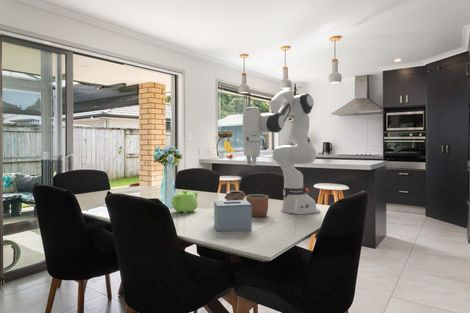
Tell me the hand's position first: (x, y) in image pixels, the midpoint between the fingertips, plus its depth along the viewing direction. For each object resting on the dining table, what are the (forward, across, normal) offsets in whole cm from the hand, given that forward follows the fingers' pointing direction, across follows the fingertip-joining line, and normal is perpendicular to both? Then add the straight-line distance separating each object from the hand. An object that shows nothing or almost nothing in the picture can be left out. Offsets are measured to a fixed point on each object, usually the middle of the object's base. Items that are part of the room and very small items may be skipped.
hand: (251, 165), depth 164 cm
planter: (+29, -11, +6) cm, 32 cm away
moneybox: (+29, +11, -12) cm, 33 cm away
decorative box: (+29, -39, -2) cm, 49 cm away
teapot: (+29, -29, -33) cm, 53 cm away
